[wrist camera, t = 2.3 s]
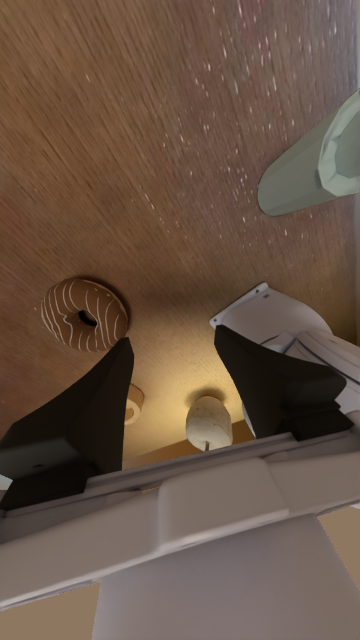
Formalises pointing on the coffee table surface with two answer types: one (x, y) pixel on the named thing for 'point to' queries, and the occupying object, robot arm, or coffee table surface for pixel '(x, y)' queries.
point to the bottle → (316, 164)
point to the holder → (133, 405)
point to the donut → (92, 298)
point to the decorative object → (208, 424)
